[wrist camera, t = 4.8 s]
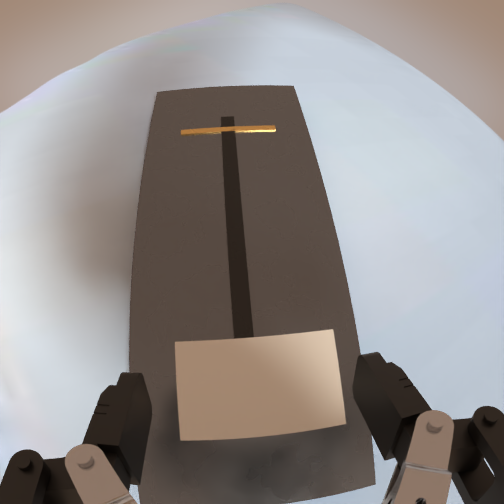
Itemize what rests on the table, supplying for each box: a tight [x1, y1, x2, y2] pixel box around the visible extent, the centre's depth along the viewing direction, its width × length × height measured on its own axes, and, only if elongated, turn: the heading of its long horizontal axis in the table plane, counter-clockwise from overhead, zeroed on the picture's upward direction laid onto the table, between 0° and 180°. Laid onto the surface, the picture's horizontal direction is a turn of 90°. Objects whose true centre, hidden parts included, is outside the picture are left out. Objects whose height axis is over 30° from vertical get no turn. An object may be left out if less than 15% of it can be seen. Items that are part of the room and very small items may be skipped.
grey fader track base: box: [129, 85, 376, 504], centre depth 20 cm, size 30×12×2 cm, turn 5°
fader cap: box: [175, 329, 346, 441], centre depth 11 cm, size 2×4×8 cm, turn 95°
